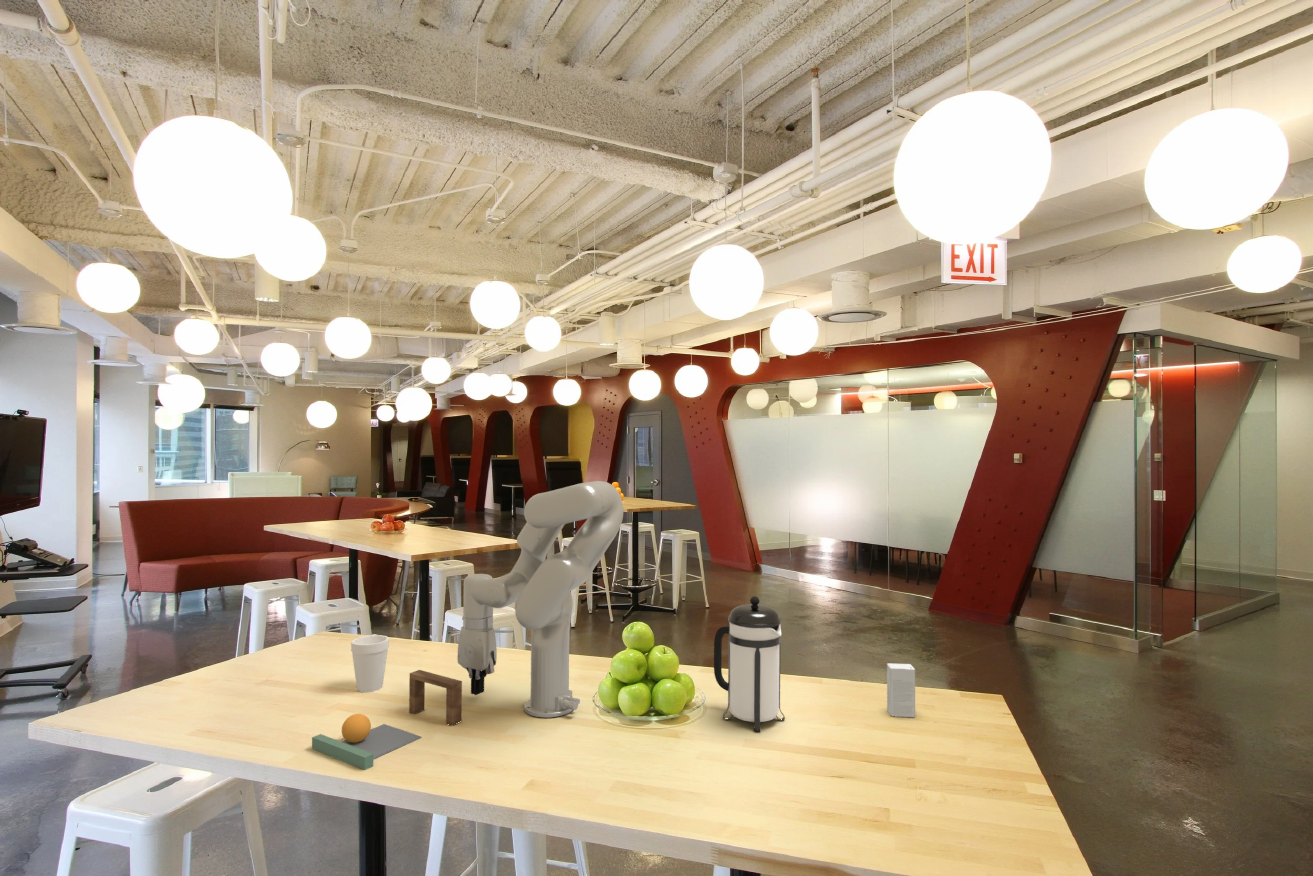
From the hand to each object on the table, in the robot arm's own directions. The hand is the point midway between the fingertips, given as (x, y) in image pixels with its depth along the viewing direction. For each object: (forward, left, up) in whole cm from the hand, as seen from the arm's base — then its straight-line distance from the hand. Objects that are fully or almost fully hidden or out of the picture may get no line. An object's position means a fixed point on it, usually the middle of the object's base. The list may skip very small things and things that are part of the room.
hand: (477, 692), depth 180 cm
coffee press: (-65, -26, -2) cm, 70 cm away
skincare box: (-96, -49, -2) cm, 108 cm away
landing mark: (0, +30, -2) cm, 30 cm away
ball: (+4, +33, +2) cm, 33 cm away
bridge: (0, +14, -2) cm, 14 cm away
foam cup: (+30, +10, -2) cm, 32 cm away
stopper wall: (0, +39, -2) cm, 39 cm away
